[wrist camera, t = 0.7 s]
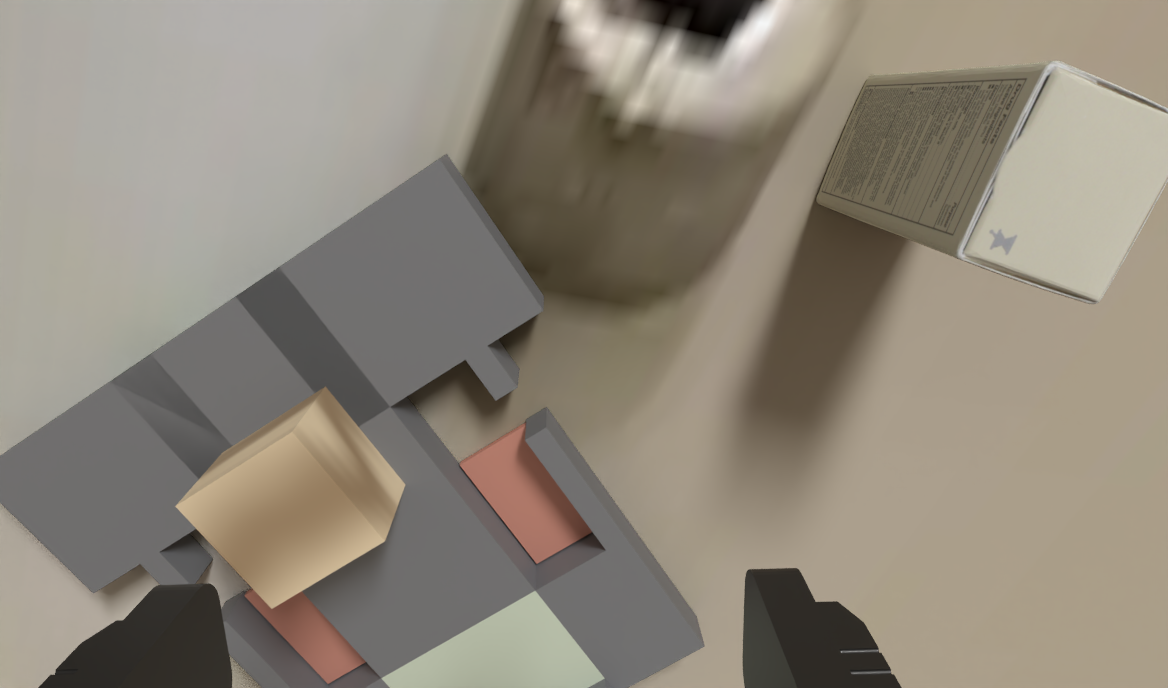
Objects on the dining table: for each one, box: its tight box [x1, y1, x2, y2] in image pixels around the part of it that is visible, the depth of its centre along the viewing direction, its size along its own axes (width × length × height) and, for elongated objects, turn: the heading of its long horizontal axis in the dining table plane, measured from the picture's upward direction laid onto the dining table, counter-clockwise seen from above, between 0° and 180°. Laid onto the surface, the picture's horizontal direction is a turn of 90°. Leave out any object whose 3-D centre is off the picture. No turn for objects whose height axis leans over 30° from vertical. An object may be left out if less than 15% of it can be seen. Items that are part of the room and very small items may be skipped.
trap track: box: [0, 154, 704, 688], centre depth 32 cm, size 23×22×4 cm
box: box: [816, 61, 1168, 304], centre depth 24 cm, size 5×4×11 cm
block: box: [175, 386, 405, 609], centre depth 29 cm, size 5×5×4 cm
